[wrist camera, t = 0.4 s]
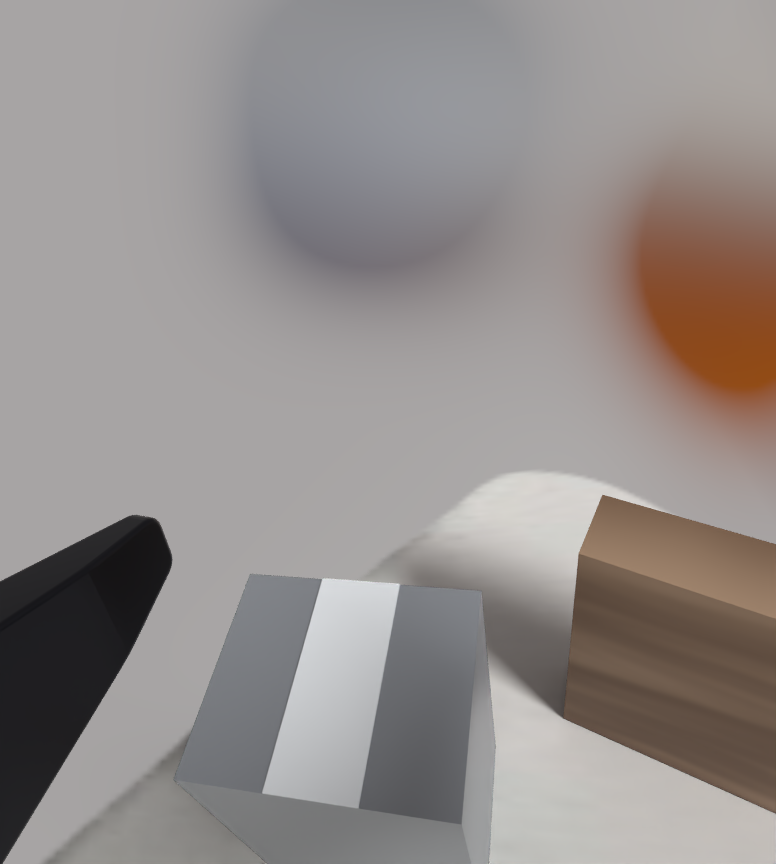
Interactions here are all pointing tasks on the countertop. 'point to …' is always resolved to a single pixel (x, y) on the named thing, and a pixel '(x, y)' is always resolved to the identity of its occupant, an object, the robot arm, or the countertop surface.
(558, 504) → the countertop surface
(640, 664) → the set of wooden blocks
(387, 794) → the block
